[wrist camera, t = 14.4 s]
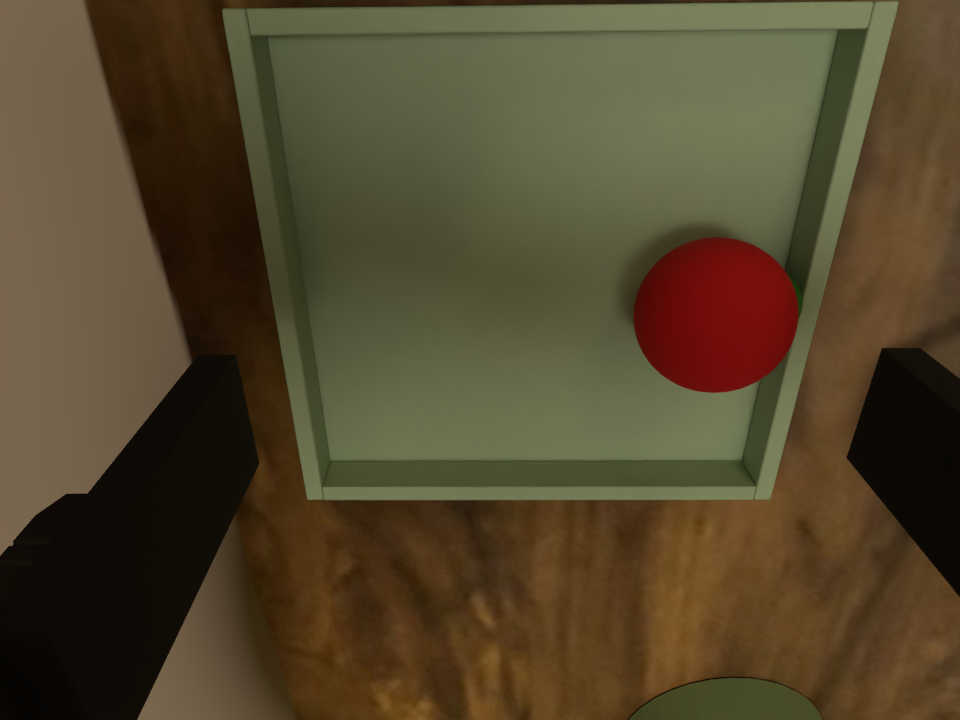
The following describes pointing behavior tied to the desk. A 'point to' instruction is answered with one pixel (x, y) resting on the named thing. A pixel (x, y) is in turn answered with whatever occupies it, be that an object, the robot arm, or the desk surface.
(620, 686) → the desk surface
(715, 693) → the mug
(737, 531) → the desk surface
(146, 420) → the robot arm
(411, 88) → the tray
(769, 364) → the red tomato
